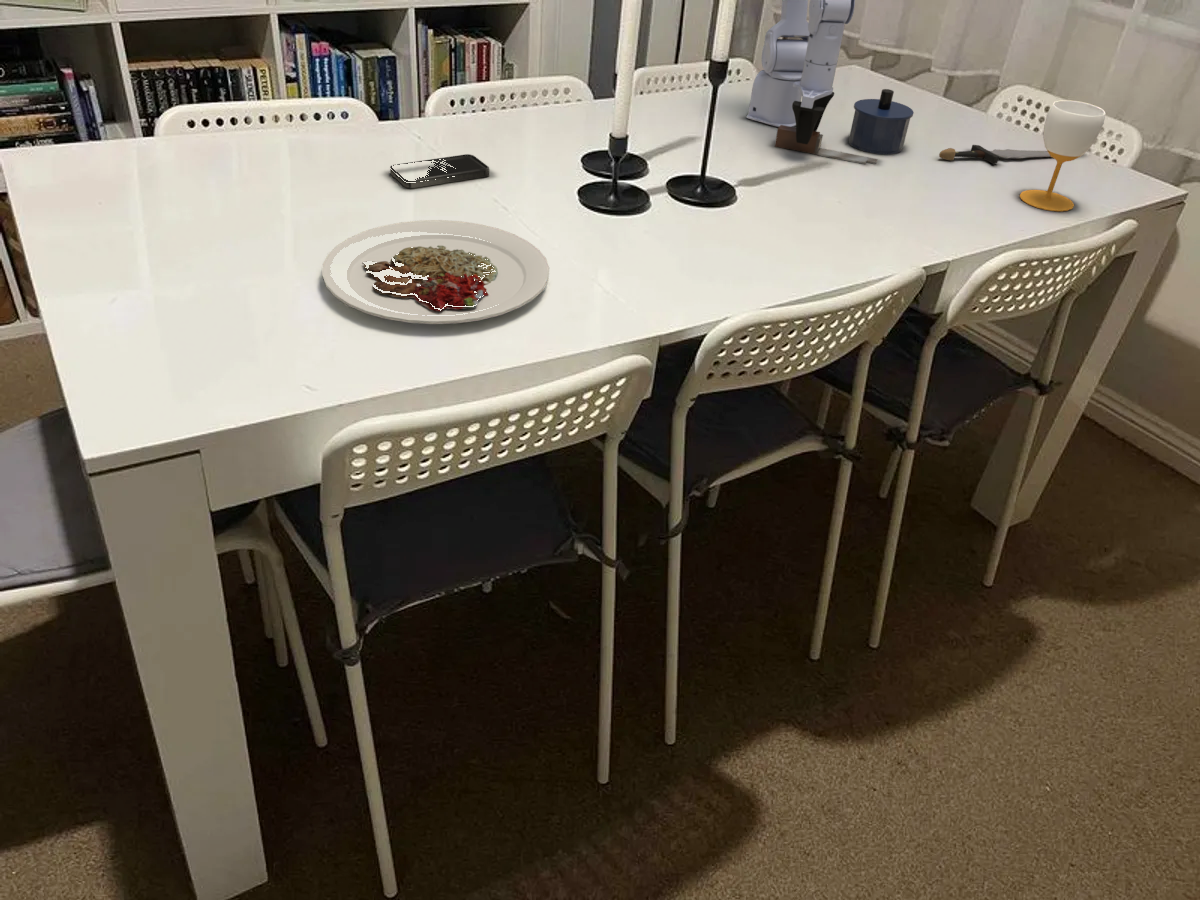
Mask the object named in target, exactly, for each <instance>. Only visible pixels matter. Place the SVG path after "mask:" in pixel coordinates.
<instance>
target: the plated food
mask: <svg viewBox="0 0 1200 900" xmlns="http://www.w3.org/2000/svg"><path fill="white" fill-rule="evenodd" d="M411 231H412V232H419V231H420V232H427V233H439V234H441V233H443V234H446V233H447V234H453V235H420V236H411V237H404V238H399V239H394V240H391V241H387V242H384V243H381V244H378V245H376V246H374V247H372V248H369V249H367V250H366V251H364V252H363V253H361V254H360V255H358V256H357V257H356V258H355V259H354V260H353V261H352V262H351V264H350V266H349V268H348V270H347V280H348V282H349V284H350V287H351V288H352V289H353V290H354V291H355V292H356V293H357V294H358V295H359V296H361V297H362V298H364V299H365V300H367V301H368V302H371V303H373V304H375V305H378V306H380V307H383V308H387V309H390V310H394V311H398V312H404V313H410V314H418V315H410V314H409V315H408V314H402V313H395V312H391V311H387V310H383V309H380V308H379V309H378V308H376V307H373V306H369V305H368V304H367V305H366V304H365V303H363V302H361V301H359V300H357V299H356V298H354V297H352V296H351V295H350V296H349V295H348V294H346V293H345V292H344V291H343V290H341V288H339V286H338V285H336V283H335V282H334V280H333V278H332V277H331V276H330V275H331V274H332V273H331V270H330V268H331V267H330V265H331V264H332V263H333V262H332V261H333V259H334V257H335V256H336V255H337V253H339V252H340V250H342V249H343V248H344V247H345V248H346V247H348V246H349V245H350V244H352V243H353V244H354V243H356V242H360V241H362V240H363V239H364V240H365V239H367V238H368V237H370V238H371V237H372V236H373V237H376V236H378V237H379V236H380V235H382V236H383V235H385V234H393V233H396V234H397V233H398V232H400V233H402V232H411ZM454 235H461V236H454ZM462 236H470V237H473V238H469V237H462ZM475 237H476V238H477V239H475ZM479 238H480V239H482V240H479ZM483 240H485V241H483ZM487 241H488V242H487ZM490 242H491V243H490ZM411 247H413V248H411ZM398 253H399V254H398ZM469 253H470V254H469ZM396 254H398V255H396ZM471 254H472V255H471ZM474 255H475V256H474ZM392 257H393V258H394V259H395V263H396V262H398V263H402V264H404V266H401V267H398V266H395V264H394V262H393V261H392ZM485 259H486V260H485ZM487 259H488V260H487ZM367 261H372V262H377V263H375V264H373V265H369V268H368V269H367V268H365V267H366V265H365V264H364V263H363V262H367ZM481 263H484V264H486V265H490V264H491V266H488V267H487V269H486V268H484V269H483V267H486V265H484V266H482V267H478V265H480V266H481V265H483V264H481ZM389 266H390V267H392V268H393V269H394V270H395V271H399V272H400V273H402V274H405V273H406V274H407V273H409V272H411V273H413V275H415V274H416V275H422V277H425V276H427V275H429V277H427V279H428V280H423V279H412V278H411V276H408V277H402V276H400V277H401V278H396V277H393V276H390V275H389V276H387V275H386V276H387V277H386V276H384V278H385V281H386V280H387V282H389V281H390V282H393V281H394V282H401V283H403V282H404V283H405V284H406V283H407V282H408V281H409V280H410V279H412V283H408V284H407V285H400V284H395V285H390V284H387V283H385V282H382V281H381V280H380V279H379V278H378V277H374V275H373V274H371V273H366V271H368V270H369V271H372V272H380V271H382V270H386V269H390V268H389ZM492 266H493V267H494V268H493V267H492ZM321 269H322V270H321V277H322V279H324V280H323V283H324V284H325V287H326V289H327V290H328V291H329V292H330V293H331V294H332V295H333V296H334V297H335V298H336V299H338V300H339V301H341V302H342V303H344V304H345V305H347V306H349V307H350V308H352V309H355V310H358V311H360V312H362V313H364V314H367V315H370V316H374V317H378V318H381V319H384V320H390V321H396V322H403V323H409V324H426V325H445V324H446V325H447V324H462V323H470V322H476V321H482V320H486V319H490V318H495V317H499V316H502V315H505V314H507V313H509V312H513V311H515V310H517V309H520V308H522V307H523V306H525V305H527V304H528V303H530V302H532V301H534V299H536V298H537V296H539V295H540V294H541V293H542V292H543V291H544V289H545V288H546V285H547V284H548V282H549V277H550V265H549V263H548V260H547V258H546V256H545V255H544V254H543V252H542V251H541V250H540V249H539V248H538V247H536V246H535V245H534V244H532V243H531V242H530V241H529V240H526V239H525V238H523V237H521V236H519V235H517V234H515V233H513V232H510V231H506V230H504V229H500V228H497V227H494V226H489V225H486V224H481V223H477V222H476V223H475V222H468V221H461V220H443V219H429V220H424V219H423V220H422V219H421V220H420V219H419V220H412V221H411V220H410V221H401V222H396V223H390V224H385V225H380V226H376V227H373V228H370V229H367V230H364V231H361V232H359V233H356V234H354V235H352V236H350V237H348V238H346V239H345V240H343V241H341V242H339V243H338V244H337V245H336V246H334V247H333V248H332V249H331V250H330V251H329V252H328V253H327V255H326V257H325V258H324V261H323V263H322V268H321ZM393 269H391V270H393ZM491 269H493V270H491ZM494 270H495V271H496V272H492V271H494ZM483 272H490V273H483ZM491 272H492V273H491ZM330 273H331V274H330ZM486 274H489V275H486ZM472 275H473V276H472ZM483 275H485V277H484V276H483ZM461 276H462V277H461ZM478 276H480V277H481V278H482V277H484V278H483V279H482V280H481V278H480V277H478ZM408 278H409V279H408ZM414 278H415V277H414ZM419 278H421V277H419ZM474 279H475V281H474ZM479 281H481V282H479ZM373 284H374V285H376V287H378V289H381V290H383V291H390V292H396V293H401V294H410V293H413V294H414V293H415V294H417V295H418V298H420V299H421V300H423V301H427V302H429V303H426V302H422V301H419V299H418V298H417V297H416V296H415V295H407V296H401V295H396V294H392V293H382V292H381V291H379V290H377V289H375V288H374V287H373ZM420 285H421V286H420ZM474 291H476V292H477V293H474ZM485 292H486V293H485ZM476 294H477V295H476ZM483 295H484V296H483ZM480 296H481V298H479V297H480ZM482 296H483V297H482ZM478 299H479V300H478ZM477 300H478V301H477ZM430 303H431V304H432V305H433V306H435V308H440V309H442V308H443V307H444V306H445V304H447V303H448V305H453V306H465V305H466V306H473V305H476V304H477V305H476V306H474V307H452V306H446V307H444V309H442V310H441V311H440V310H438V309H434V307H432V305H431V304H430ZM498 304H499V305H498ZM495 305H497V306H495ZM493 306H494V307H493ZM490 307H492V308H490ZM487 308H489V309H487ZM483 309H486V310H483ZM479 310H483V311H479ZM475 311H478V312H475ZM470 312H475V313H470ZM463 313H468V314H465V315H464V314H463ZM456 314H463V315H456ZM422 315H425V316H422ZM427 315H455V316H427Z"/></svg>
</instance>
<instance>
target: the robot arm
mask: <svg viewBox="0 0 1200 900" xmlns="http://www.w3.org/2000/svg"><path fill="white" fill-rule="evenodd" d="M855 7H856V0H781V9H780V10H781V11H780V20H779V21H778V22H776V23H775V24H773V25H772V26H771V27H769V29H768V30H767V31H766V32H765V35H764V41H763V45H762V50H761V66H762V70H760V71H758V73H757V74H756V76H755V78H754V80H753V83H752V87H751V88H752V89H751V94H750V100H749V107H748V114H747V115H745V118H746V119H748V120H751V121H755V122H759V123H762V124H765V125H768V126H772V127H775V128H779V127H780V125H784V126H790V127H795V128H796V141H797V143H802V144H808V142H809V141H810V138H811V136H812V133H813V131H817V130H818V128H819V126H820V124H821V121H822V118H823V116H824V113H825V111H826V109H827V107H828V105H829V103H830V101H831V100H832V99H833V97H834V96H835V92H834V87H833V85H834V82H835V81H834V80H835V76H836V70H837V67H838V63H839V61H838V60H839V57H840V52H841V46H842V41H843V37H844V32H845V27H846V25H848V24H849V23H850V22H851V20H852V19H853V16H854V12H855ZM788 38H789V39H788ZM792 38H797V39H792ZM817 132H818V131H817Z"/></svg>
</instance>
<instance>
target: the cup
mask: <svg viewBox="0 0 1200 900" xmlns="http://www.w3.org/2000/svg"><path fill="white" fill-rule="evenodd" d="M1106 114H1107V112H1106V111H1105V110H1104V108H1101V107H1099V106H1098V105H1095V104H1094V105H1093V104H1091V103H1087V102H1083V101H1078V100H1070V99H1061V100H1055V101H1053V103H1052V104H1051V106H1050V108H1049V110H1048V111H1047V114H1046V117H1045V120H1044V125H1043V134H1042V135H1043V137H1042V138H1043V143H1044V148H1045V150H1046V151H1048V153H1049V154H1050V156H1051V157H1050V158H1052V159H1054V160H1055V161H1056V165H1055V168H1054V170H1053V173H1052V176H1051V179H1050V182H1049V185H1048V188H1047V189H1046V190H1042V189H1027V190H1023V191H1021V193H1020V194H1019V198H1020V200H1021V202H1024V203H1025V204H1026V205H1029V206H1031V207H1033V208H1036V209H1040V210H1043V211H1050V212H1068V211H1070V210H1073V208H1074V206H1075V204H1074V202H1073V201H1072V199H1070V198H1069V197H1066V196H1065V195H1062V194H1060V193H1058V192H1053V191H1054V188H1055V185H1056V182H1057V180H1058V176H1059V174H1060V171H1061V169H1062V166H1063V164H1064V163H1066V162H1071V161H1075V160H1077V159H1078V158H1081V157H1082V156H1084V155H1085V154H1086V153H1087V152H1088V151H1089V150H1090V149H1091V147H1092V146H1093V145H1094V143H1095V141H1096V140H1097V138H1098V137H1099V135H1100V132H1101V131H1102V128H1103V126H1104V125H1105V119H1106Z"/></svg>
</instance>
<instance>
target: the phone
mask: <svg viewBox="0 0 1200 900" xmlns="http://www.w3.org/2000/svg"><path fill="white" fill-rule="evenodd" d="M439 159H441V160H439ZM443 159H444V160H446V161H444V160H443ZM432 160H434V161H436V162H438V161H439V162H438V163H436V162H433V163H435V164H436V165H435V164H434V165H435V166H437V165H438V166H437V167H438V168H439V169H438V168H437V167H435V166H434V167H435V168H434V167H431V168H432V169H430V168H429V167H430V166H429V167H428V168H429V169H430V170H431V171H430V170H428V171H429V172H428V171H427V172H428V173H429V174H428V173H427V174H428V175H429V176H428V175H426V176H427V177H426V176H425V178H424V177H422V178H420V177H419V179H418V178H417V180H416V179H415V180H416V181H408V180H406V179H404V178H403V177H402V176H401V175H400V174H399V173H398V172H396V171H395V170H394V169H393V168H392V165H393V166H394V165H395V164H392V165H390V166H389V172H390V175H391V176H392V177H393V178H394V179H395V180H396V181H397V182H398V183H400V184H401V185H402V186H403V187H404V188H406V189H416V188H422V187H429V186H436V185H442V184H448V183H449V184H450V183H454V182H461V181H467V180H468V181H469V180H473V179H479V178H487V177H489V176H490V167H489V166H488V165H487V164H486V163H484V162H483V161H482V160H481V159H479V158H478V157H477V156H475V155H474V154H469V153H466V154H459V155H452V156H444V157H439V158H431V159H424V160H417V161H410V162H403V163H402V164H408V163H413V162H414V163H415V162H422V161H432ZM442 161H444V162H446V163H448V164H450V165H451V166H453V167H454V168H453V167H450V166H447V165H448V164H447V165H446V166H445V165H443V164H440V162H442ZM444 162H443V163H444ZM431 163H432V162H431ZM446 163H445V164H446ZM400 164H401V163H397V165H400ZM439 164H440V165H439ZM441 165H443V166H445V167H446V168H445V167H443V166H441ZM439 166H441V167H443V168H445V169H446V170H447V171H446V170H444V169H443V170H444V171H446V172H447V173H446V172H444V171H442V170H440V169H442V168H441V167H439ZM390 168H391V169H392V170H393V171H394V172H395V173H397V174H398V175H399V176H400V177H401V178H402V179H403V180H404V181H406V182H416V183H406V182H404V181H403V180H402V179H401V178H400V177H398V176H397V175H396V174H395V173H394V172H393V171H392V170H391V169H390ZM455 168H456V169H455ZM452 176H455V177H452ZM447 177H449V178H447ZM435 179H436V180H435ZM425 180H426V181H425ZM427 180H429V181H427ZM420 181H423V182H420Z"/></svg>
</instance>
